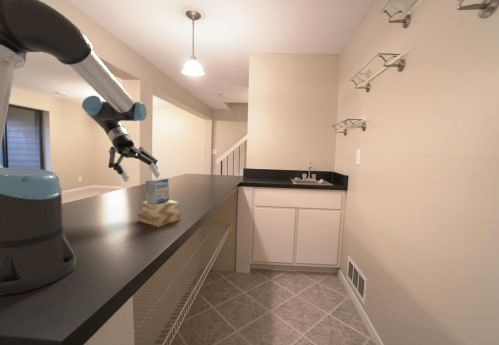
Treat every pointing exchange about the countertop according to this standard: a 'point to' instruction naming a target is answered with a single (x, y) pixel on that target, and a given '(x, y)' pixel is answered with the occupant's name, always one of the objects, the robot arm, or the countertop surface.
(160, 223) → the tower bottom slab
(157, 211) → the tower top slab
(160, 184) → the medicine box
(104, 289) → the countertop surface
